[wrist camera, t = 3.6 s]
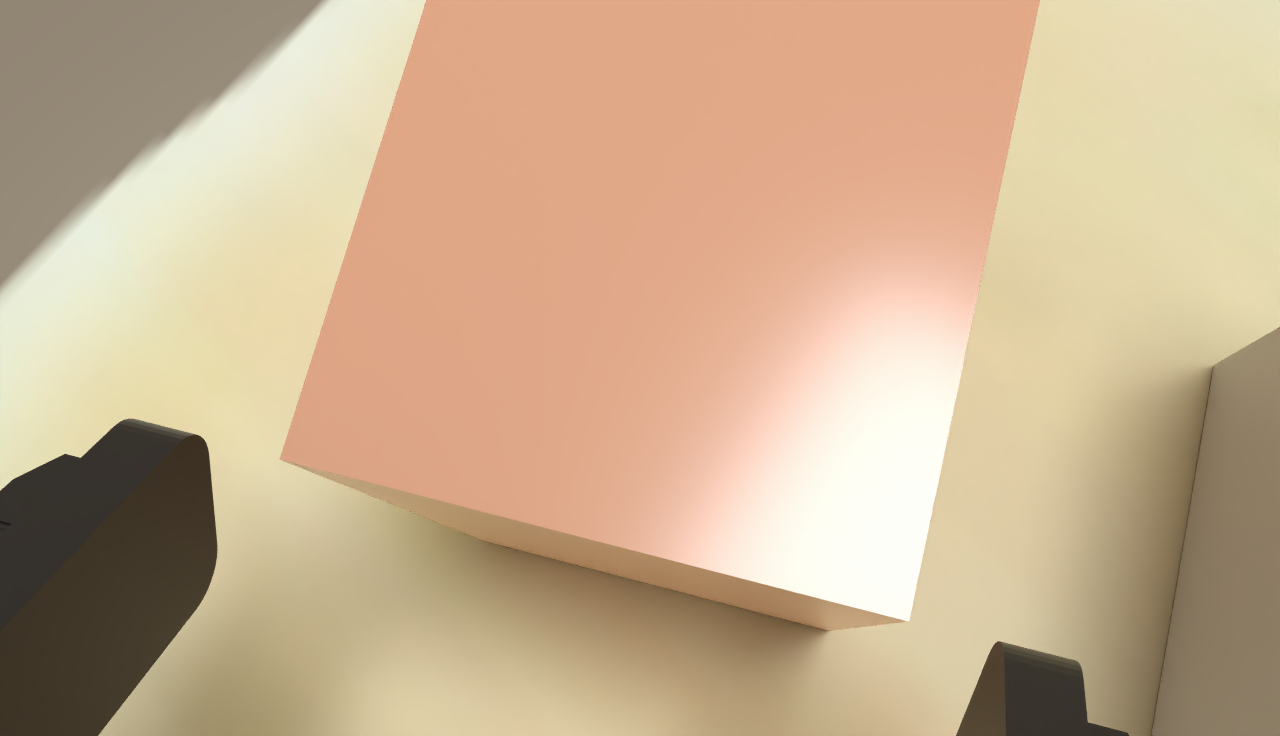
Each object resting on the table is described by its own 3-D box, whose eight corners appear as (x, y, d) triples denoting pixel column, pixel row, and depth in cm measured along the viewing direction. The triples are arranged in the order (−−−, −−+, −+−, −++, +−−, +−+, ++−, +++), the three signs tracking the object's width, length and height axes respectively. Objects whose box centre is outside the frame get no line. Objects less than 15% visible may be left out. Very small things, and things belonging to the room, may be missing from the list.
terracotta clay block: (601, 121, 24) (505, -248, 14) (927, 190, 23) (1071, -150, 13) (483, 540, 22) (279, 460, 12) (828, 630, 21) (908, 621, 12)
